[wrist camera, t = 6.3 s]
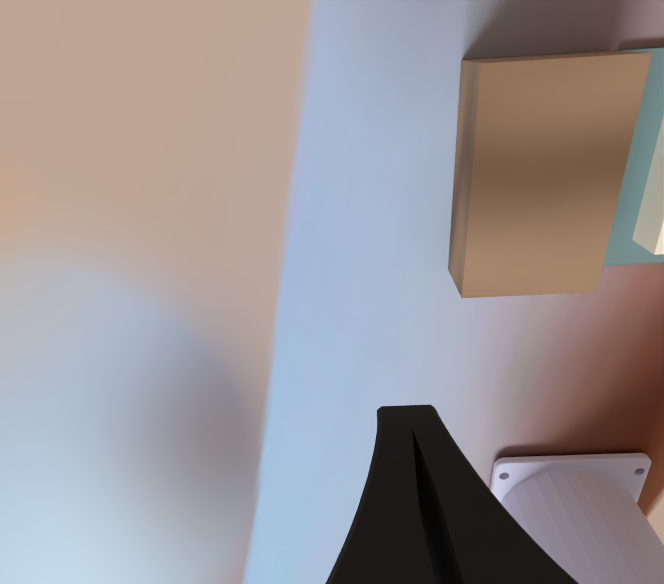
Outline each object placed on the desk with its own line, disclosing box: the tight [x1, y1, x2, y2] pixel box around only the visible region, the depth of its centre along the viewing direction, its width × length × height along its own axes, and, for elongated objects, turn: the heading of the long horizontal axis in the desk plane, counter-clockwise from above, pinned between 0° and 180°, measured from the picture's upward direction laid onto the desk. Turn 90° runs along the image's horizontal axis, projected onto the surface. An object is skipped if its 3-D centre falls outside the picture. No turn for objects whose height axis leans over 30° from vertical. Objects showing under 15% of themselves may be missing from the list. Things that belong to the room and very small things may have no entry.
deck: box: [448, 51, 652, 298], centre depth 17 cm, size 8×5×2 cm, turn 3°
